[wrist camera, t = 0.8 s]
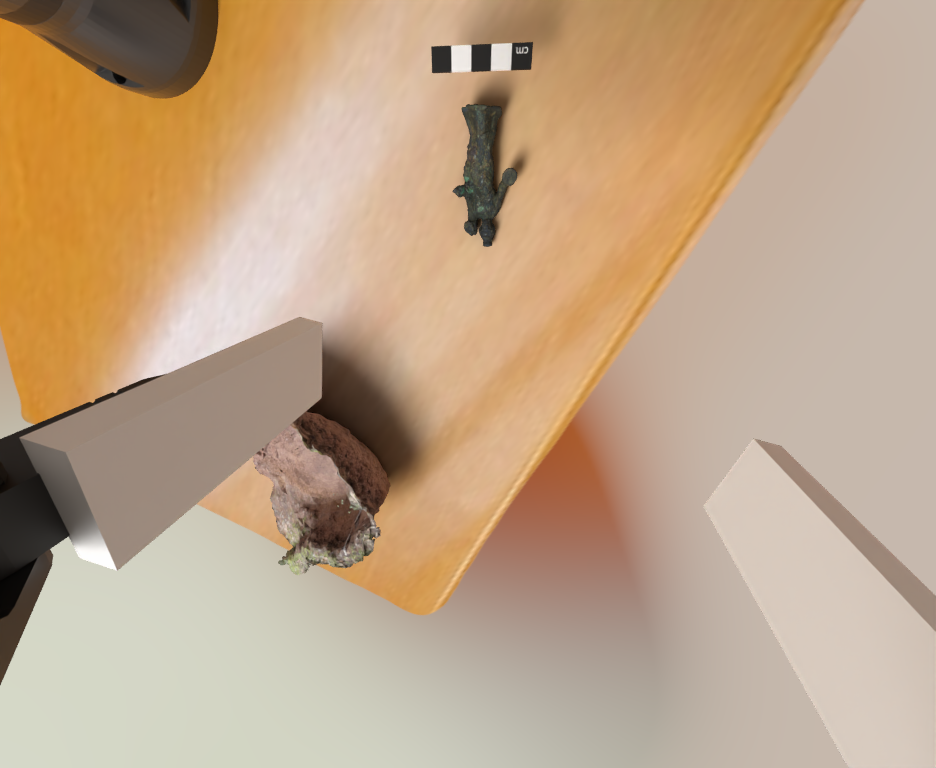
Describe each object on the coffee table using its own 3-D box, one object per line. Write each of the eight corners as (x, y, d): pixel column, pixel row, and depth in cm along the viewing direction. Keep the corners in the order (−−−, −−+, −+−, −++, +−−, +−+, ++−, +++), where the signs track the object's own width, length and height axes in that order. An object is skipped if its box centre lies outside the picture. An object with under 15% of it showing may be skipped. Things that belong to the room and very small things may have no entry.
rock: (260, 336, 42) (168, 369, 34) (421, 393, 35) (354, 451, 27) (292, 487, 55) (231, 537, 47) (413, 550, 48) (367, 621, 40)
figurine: (532, 42, 21) (519, 250, 27) (529, 67, 25) (518, 246, 30) (431, 46, 22) (437, 249, 27) (442, 69, 26) (446, 245, 31)
